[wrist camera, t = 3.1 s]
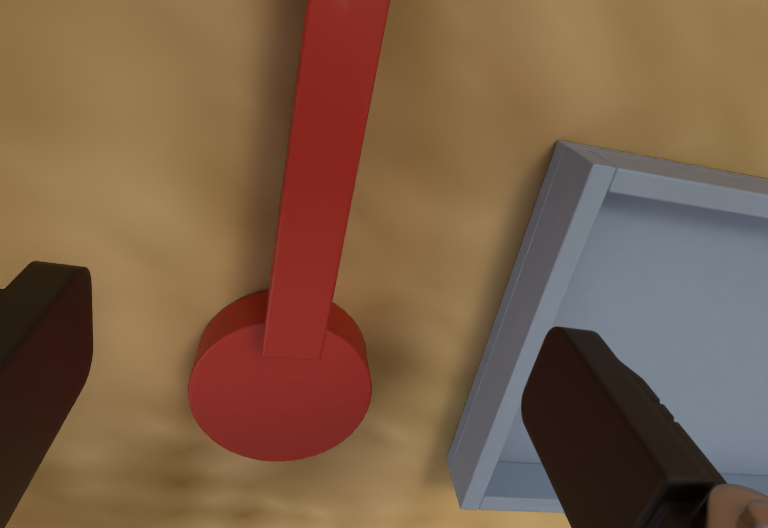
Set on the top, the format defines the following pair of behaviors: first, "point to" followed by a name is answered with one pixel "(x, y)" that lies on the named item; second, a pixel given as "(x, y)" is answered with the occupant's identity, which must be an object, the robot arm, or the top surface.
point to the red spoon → (301, 266)
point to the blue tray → (630, 314)
